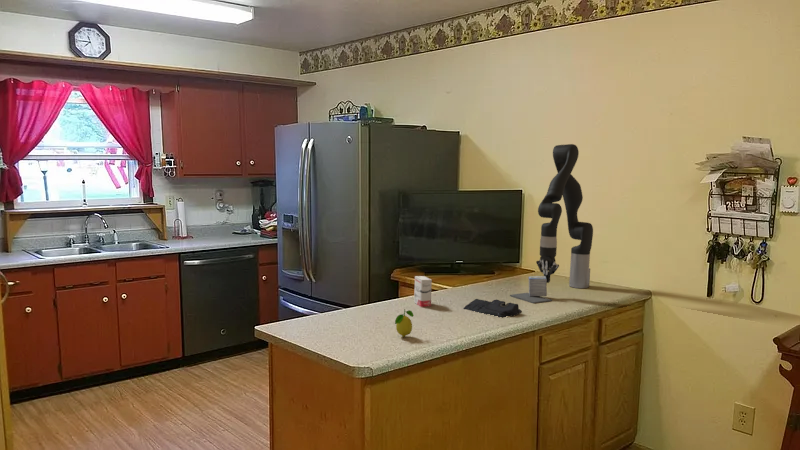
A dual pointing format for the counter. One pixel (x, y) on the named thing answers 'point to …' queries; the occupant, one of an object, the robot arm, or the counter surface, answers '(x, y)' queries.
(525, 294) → the mat
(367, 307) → the counter surface
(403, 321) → the lemon
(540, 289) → the medicine box
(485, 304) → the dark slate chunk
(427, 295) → the ink box
